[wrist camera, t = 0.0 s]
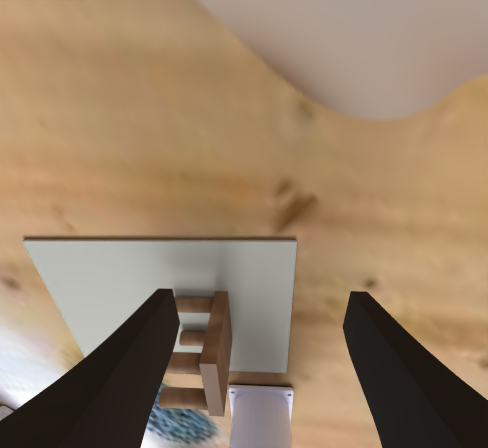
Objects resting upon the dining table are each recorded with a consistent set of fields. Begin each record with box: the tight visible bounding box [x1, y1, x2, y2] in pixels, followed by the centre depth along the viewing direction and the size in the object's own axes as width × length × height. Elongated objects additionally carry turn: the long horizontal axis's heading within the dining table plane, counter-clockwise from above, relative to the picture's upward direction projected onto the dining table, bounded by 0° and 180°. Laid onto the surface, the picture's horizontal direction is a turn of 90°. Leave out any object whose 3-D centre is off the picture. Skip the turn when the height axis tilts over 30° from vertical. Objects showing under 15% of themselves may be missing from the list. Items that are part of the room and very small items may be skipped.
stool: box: [159, 291, 232, 416], centre depth 22 cm, size 5×7×7 cm
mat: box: [22, 239, 297, 373], centre depth 25 cm, size 18×24×1 cm
